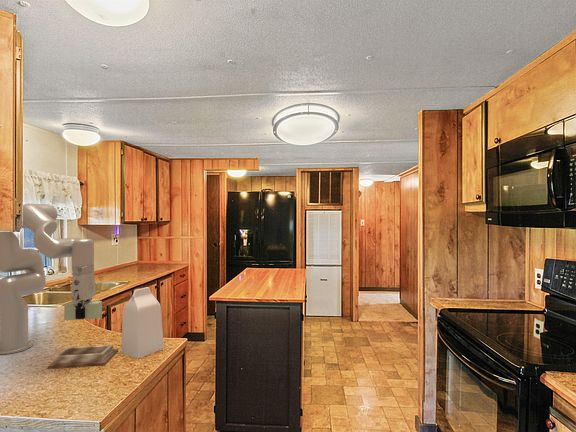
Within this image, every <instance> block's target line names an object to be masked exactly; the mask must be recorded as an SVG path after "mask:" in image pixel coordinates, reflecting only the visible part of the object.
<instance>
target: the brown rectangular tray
mask: <svg viewBox="0 0 576 432" xmlns="http://www.w3.org/2000/svg"><path fill="white" fill-rule="evenodd" d="M117 353H119V349H118V348H116V349H115V348H114V345H113V344H109V345H108V344H106V345H86V346H69V347H66V348H65V349H63V350H62V351H61V352H59V353H58V354H56V355H55V356H54V358H53V360H54V361H52V362H51V363H50V364H48V365H47V369H49V368H51V369H65V368H67V369H68V368H83V367H97V366H99V367H100V366H105V365H106V364H107V363H108V362H110V361H111V360H112V358H114V356H115V355H117ZM49 370H50V369H49Z"/></svg>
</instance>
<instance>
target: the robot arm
mask: <svg viewBox="0 0 576 432" xmlns="http://www.w3.org/2000/svg"><path fill="white" fill-rule="evenodd" d="M22 205H23V226H22V228H21V229H29V230H30V231H31V232H32V233H33V244H34V247H35V248H36V249H35V248H21V245H20V241H19V238H18V236H17V235H16V234H15V233H14V232H13V231H12V232H0V272H1V273H13V272H22V271H25V273H18V274H12V275H6V276H4V277H2V278H0V355H9V354H11V355H12V354H16V353H18V352H22V351H26V350H28V349H30V348H32V347H33V346H34V341H31V340H29V305H28V303H27V301H26V300H25V299H24V298H23V297H24V296H27V295H33V294H36V293H39V292H42V291H43V290H44V289H45V287H46V283H47V282H46V274H45V268H44V263H43V258H42V255H43V256H45V257H46V258H49V259H54V260H55V259H62V258H71V276H72V279H71V289H70V290H71V293H70V295H71V297H70V298H71V300H72V301H71V302H72V304H73V305H74V306H75V315H76V319H84V318H85V308H84V302H87V301H93V300H92V299H93V298H94V297H95V296H96V295H97V289H96V288H97V287H96V276H95V241H94V240H93V239H92V238H80V237H79V238H78V237H65V238H52V237H51V235H53V234H54V233H56V231H57V229H58V222H57V218H58V211H57V209H56V208H55V206H54V205H51V204H48V203H47V204H46V203H25V204H22ZM78 302H81V304H80V303H78Z"/></svg>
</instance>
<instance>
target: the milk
mask: <svg viewBox="0 0 576 432" xmlns="http://www.w3.org/2000/svg"><path fill="white" fill-rule="evenodd" d="M162 318H163V317H162V308H161V304H160V302H159V301H158V298H156V297H155V296H154V294H153V293H152V291H151V288H150V287H147V286H146V287H141V288H136V289H134V290H133V294H132V295H131V297H130V299H129V300H128V301H127V302H126V303H125V304H124V306H123V309H122V323H121V324H122V326H121V344H120V345H121V348H120V352H121V354H124V355H125V356H128V357H131V358H135V359H137V360H139V359H141V358H143V357H144V358H145V357H146V356H149V355H152V354H154V353H156V352H159V351H161V350H164V349H165V346H164V345H165V344H164V333H163V331H164V330H163V320H162Z"/></svg>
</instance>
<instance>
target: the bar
mask: <svg viewBox="0 0 576 432" xmlns="http://www.w3.org/2000/svg"><path fill="white" fill-rule="evenodd" d="M78 303H80V304H81V302H78ZM84 308H85V318H84V319H76V315H75V306H74V305H73V304H72V301H69V302H67V303H65V304H64V307H63V309H64V314H63V315H64V318H63V320H64V321H80V320H98V319H99V318H101V317H102V316H103V301H102V300H99V301H98V300H94V301H93V300H91V301H87V302H84Z"/></svg>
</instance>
